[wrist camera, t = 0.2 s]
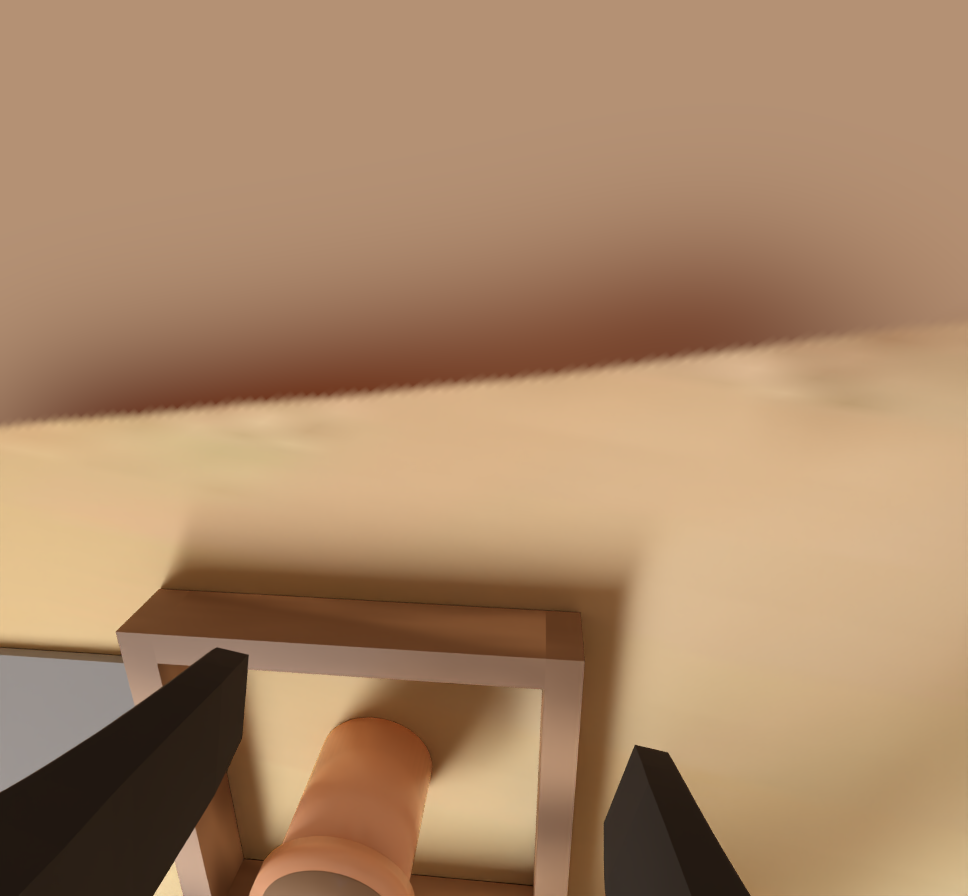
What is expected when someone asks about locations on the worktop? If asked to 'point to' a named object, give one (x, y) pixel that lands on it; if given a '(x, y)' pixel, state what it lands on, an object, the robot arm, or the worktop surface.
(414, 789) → the terracotta pot
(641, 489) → the worktop surface
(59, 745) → the slate mat
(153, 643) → the frame
